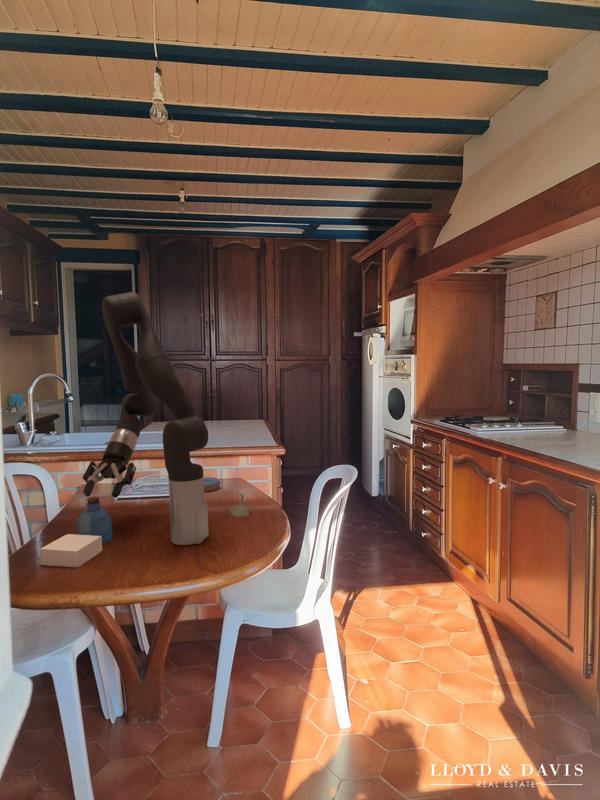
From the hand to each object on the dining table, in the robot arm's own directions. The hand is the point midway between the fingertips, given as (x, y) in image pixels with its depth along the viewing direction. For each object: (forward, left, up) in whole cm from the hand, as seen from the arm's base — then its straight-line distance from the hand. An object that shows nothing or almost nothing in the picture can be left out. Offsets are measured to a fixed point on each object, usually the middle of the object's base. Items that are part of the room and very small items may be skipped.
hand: (100, 495), depth 136 cm
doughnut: (-10, -51, -12) cm, 54 cm away
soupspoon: (-30, -33, -12) cm, 46 cm away
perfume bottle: (0, +3, -12) cm, 12 cm away
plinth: (-1, +14, -12) cm, 18 cm away
